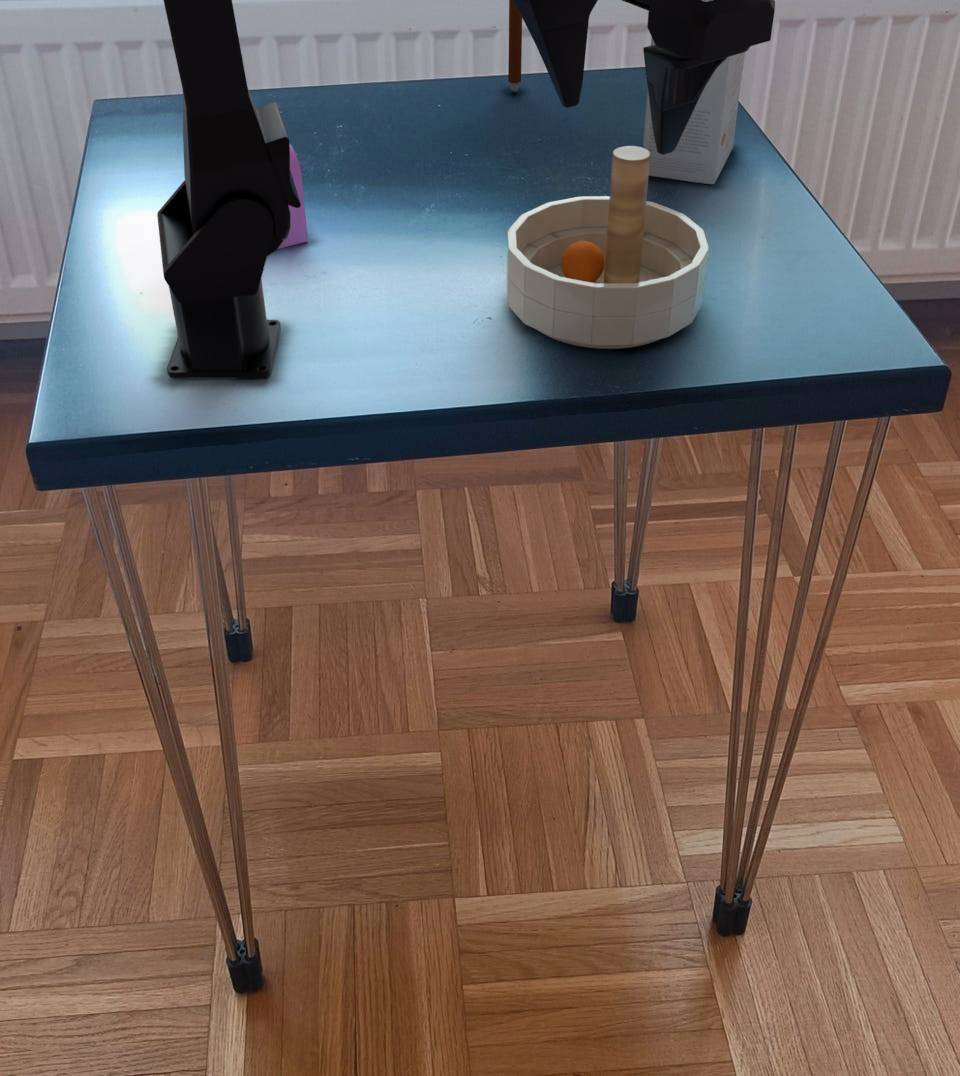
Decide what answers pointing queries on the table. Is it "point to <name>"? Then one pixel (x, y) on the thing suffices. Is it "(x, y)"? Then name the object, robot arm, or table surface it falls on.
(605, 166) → the table surface
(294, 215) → the bracket
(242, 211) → the robot arm
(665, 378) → the table surface
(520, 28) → the magnifying glass
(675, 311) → the bowl
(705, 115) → the small box
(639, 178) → the stirring stick
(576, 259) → the ball
